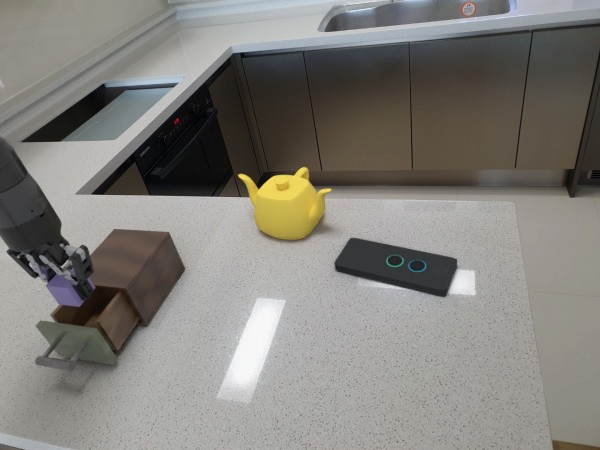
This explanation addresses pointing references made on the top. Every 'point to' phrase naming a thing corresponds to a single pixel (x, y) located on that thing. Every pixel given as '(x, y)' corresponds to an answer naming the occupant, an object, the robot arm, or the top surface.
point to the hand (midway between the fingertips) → (76, 294)
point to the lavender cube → (65, 290)
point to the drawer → (88, 330)
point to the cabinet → (138, 268)
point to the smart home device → (397, 266)
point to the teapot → (287, 205)
